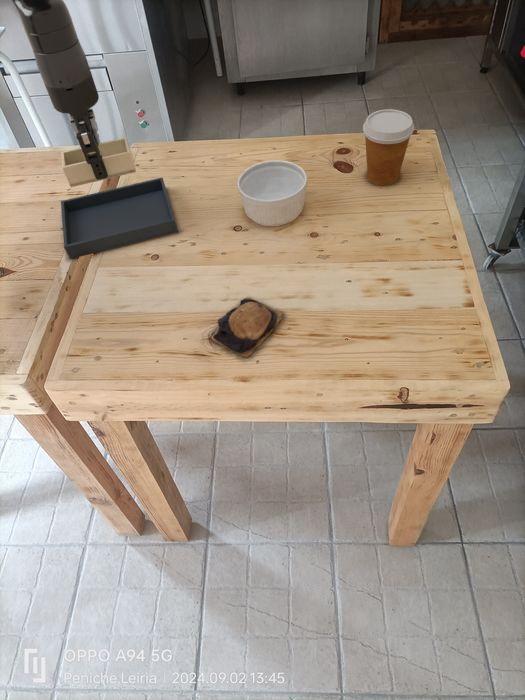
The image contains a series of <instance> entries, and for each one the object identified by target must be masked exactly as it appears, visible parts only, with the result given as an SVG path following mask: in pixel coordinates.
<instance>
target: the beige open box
mask: <svg viewBox="0 0 525 700" xmlns="http://www.w3.org/2000/svg"><path fill="white" fill-rule="evenodd" d="M128 140H129V139H128V138H127V136H125V137H121V138H116V139H113V140H107V141H104V142H100V144H99V149H100V152H101V154H102V156H103V157H102V159H103V162H104V165H105V167H106V170H107V173H108V177H107V178H104V179H100V180H98V179H96V177H95V175H94V172H93V170H92V167H91V164H88V163H87V162H86V158H85V156H84V153H83V151H82V148H81V147H76V148H72V149H68V150H67V149H66V150H64V151H61V152H60V154H61V168H62V171H63V173H64V175H65V178H66V180H67V182H68V184H69V187H70V188H74V187H79V186H83V185H87V184H92V183H95V182H99V181H103V180H108V179H113V178H117V177H122V176H125V175H129V174H130V175H131V174H134V173H137V169H136V166H135V161H134V157H133V154H132V151H131V147H130V144H129V141H128ZM93 153H96V152H91V153H89V154H93Z"/></svg>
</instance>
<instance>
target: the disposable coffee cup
mask: <svg viewBox="0 0 525 700" xmlns="http://www.w3.org/2000/svg"><path fill="white" fill-rule="evenodd" d="M362 131H363V133H364V138H365V139H364V141H365V156H366V174H367V179H368V181H369V182H370V183H372V184H374V185H376V186H390V185H393V184H395V183H396V182H397V181H398V180H399V177H400V175H401V170H402V166H403V163H404V160H405V157H406V152H407V148H408V145H409V141H410V138H411V136H412V134H413V133H414V131H415V125H414V122H413V118H412V116H411V115H410V114H408V113H407V112H405V111H402V110H399V109H391V108H388V109H387V108H386V109H380V110H376V111H374V112H371V113H370V114H369V115H368V116H367V117H366V119H365V122H364V123H363V125H362Z"/></svg>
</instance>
